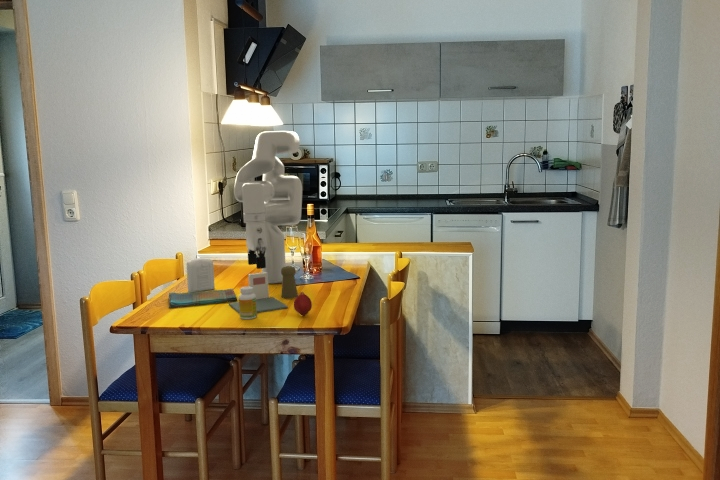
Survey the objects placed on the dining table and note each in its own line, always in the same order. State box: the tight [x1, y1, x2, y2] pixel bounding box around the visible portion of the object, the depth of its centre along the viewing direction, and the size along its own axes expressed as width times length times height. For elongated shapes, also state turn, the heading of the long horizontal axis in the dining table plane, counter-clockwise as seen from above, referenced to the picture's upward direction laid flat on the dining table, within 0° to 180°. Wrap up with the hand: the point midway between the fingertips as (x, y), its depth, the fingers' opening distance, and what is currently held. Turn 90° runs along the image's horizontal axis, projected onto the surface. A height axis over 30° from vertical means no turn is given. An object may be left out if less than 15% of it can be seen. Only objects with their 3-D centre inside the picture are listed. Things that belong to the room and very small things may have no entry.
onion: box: [293, 291, 313, 317], centre depth 217 cm, size 6×6×8 cm
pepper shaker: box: [280, 265, 299, 300], centre depth 242 cm, size 6×6×11 cm
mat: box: [228, 296, 289, 315], centre depth 230 cm, size 16×15×1 cm
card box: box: [247, 271, 270, 299], centre depth 241 cm, size 6×2×9 cm, turn 116°
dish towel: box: [168, 288, 238, 309], centre depth 243 cm, size 17×23×2 cm
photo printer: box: [186, 257, 216, 293], centre depth 255 cm, size 10×4×12 cm, turn 123°
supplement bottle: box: [238, 286, 258, 320], centre depth 217 cm, size 5×5×10 cm
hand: (256, 266), depth 239 cm, fingers open, 9 cm apart
